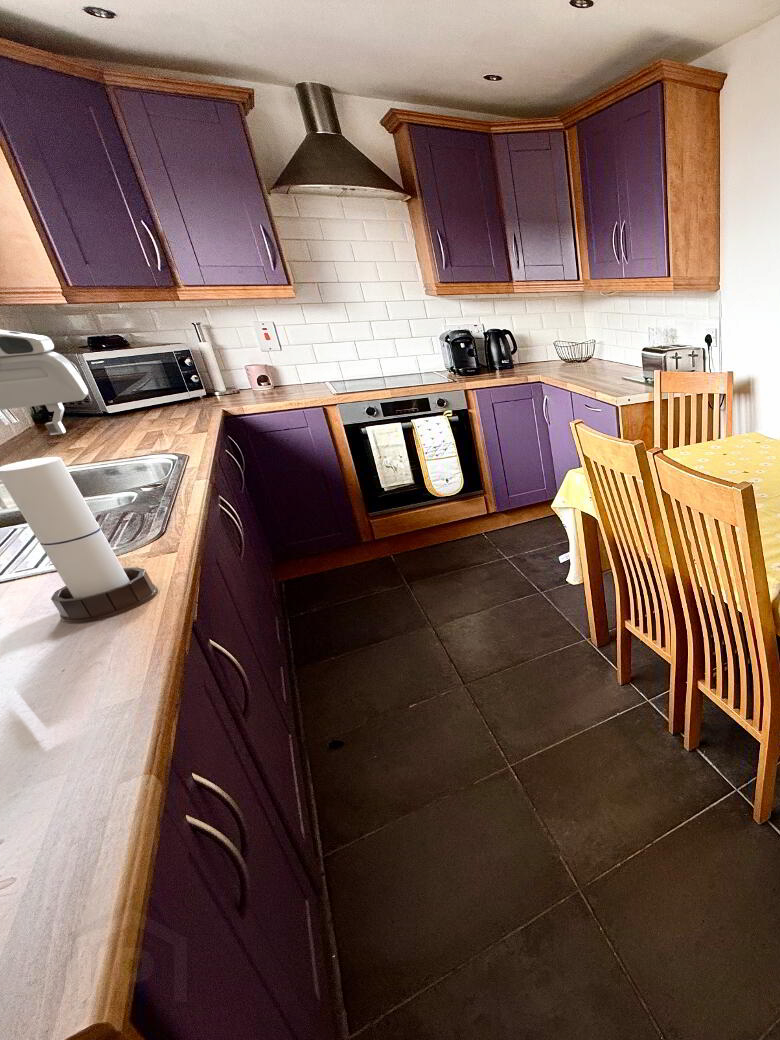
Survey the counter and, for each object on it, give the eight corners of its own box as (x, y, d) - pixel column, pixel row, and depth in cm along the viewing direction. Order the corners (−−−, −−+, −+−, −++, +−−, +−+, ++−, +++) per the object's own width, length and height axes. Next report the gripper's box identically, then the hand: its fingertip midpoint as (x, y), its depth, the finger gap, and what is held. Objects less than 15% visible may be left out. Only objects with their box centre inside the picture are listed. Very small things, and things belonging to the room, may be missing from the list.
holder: (53, 632, 94) (39, 610, 92) (70, 602, 103) (58, 582, 101) (154, 605, 100) (142, 584, 99) (161, 579, 110) (151, 559, 108)
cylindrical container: (88, 615, 97) (0, 473, 86) (74, 605, 101) (-11, 467, 90) (142, 595, 102) (66, 459, 92) (128, 586, 106) (54, 454, 95)
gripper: (-167, 355, 75) (-98, 458, 81) (54, 339, 86) (100, 430, 92) (-143, 352, 80) (-80, 449, 86) (64, 336, 91) (108, 424, 97)
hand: (15, 439), depth 89 cm, fingers open, 8 cm apart
